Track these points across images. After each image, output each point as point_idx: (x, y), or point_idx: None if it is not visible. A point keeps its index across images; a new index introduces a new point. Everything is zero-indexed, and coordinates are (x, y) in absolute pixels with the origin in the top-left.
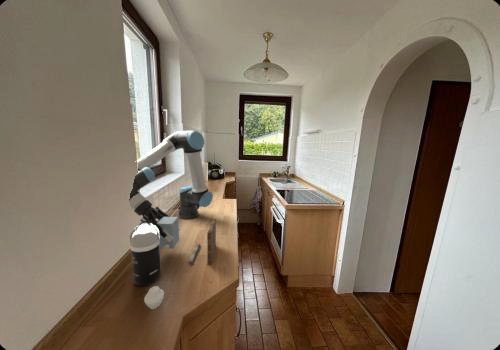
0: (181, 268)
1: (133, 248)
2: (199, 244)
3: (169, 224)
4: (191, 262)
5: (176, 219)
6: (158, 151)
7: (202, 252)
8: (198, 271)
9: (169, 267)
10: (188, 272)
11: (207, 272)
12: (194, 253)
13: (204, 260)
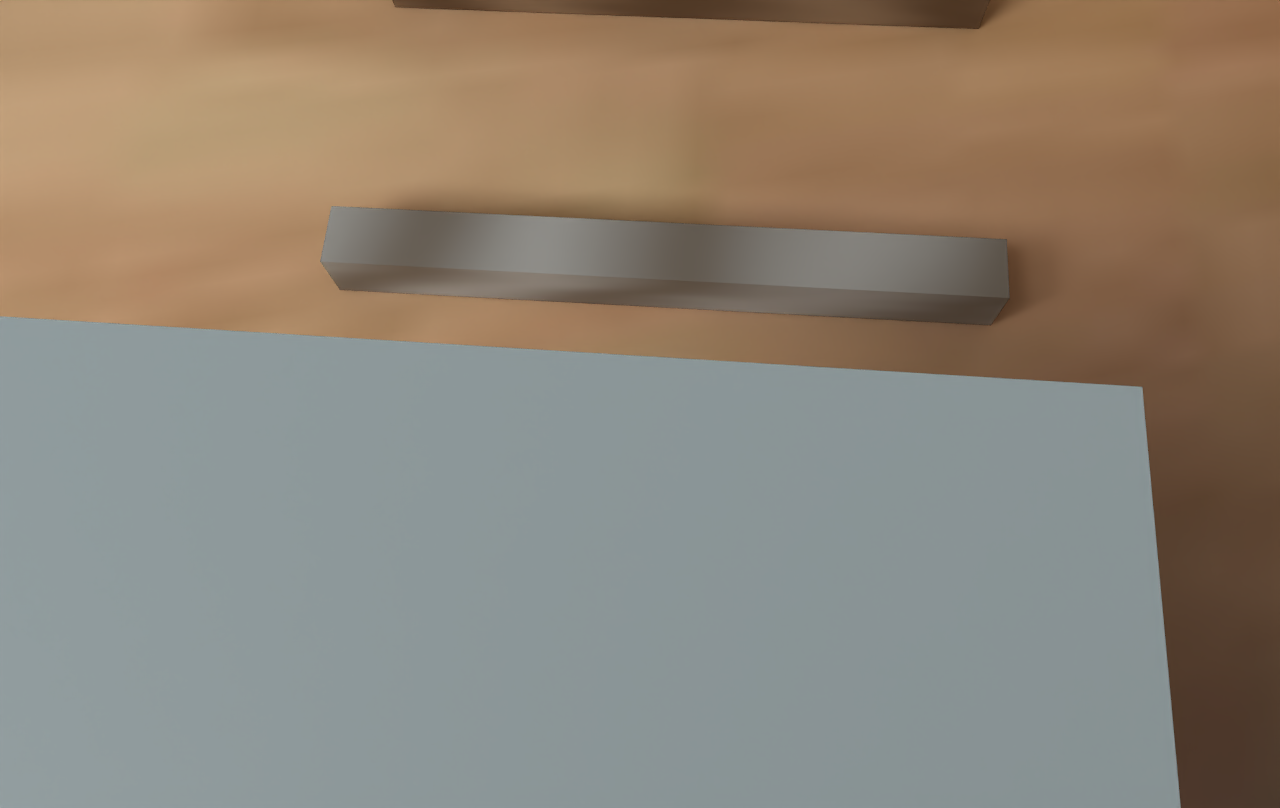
0: None
1: None
2: (371, 211)
3: (1137, 653)
4: (999, 257)
5: (67, 346)
6: None
7: (604, 155)
8: (1168, 135)
9: None
10: (1213, 283)
11: (1177, 7)
12: (729, 243)
13: (861, 88)
